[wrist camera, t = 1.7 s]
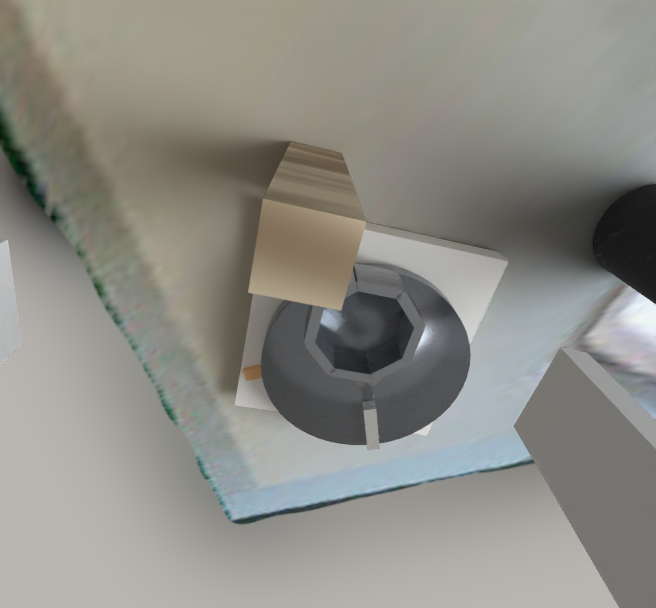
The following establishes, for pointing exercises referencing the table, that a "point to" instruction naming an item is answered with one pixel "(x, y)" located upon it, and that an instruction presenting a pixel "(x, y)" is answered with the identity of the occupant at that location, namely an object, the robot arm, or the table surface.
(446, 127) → the table surface
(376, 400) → the dial
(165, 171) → the table surface
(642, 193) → the travel mug
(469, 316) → the plate
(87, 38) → the table surface
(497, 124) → the table surface
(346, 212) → the stick
